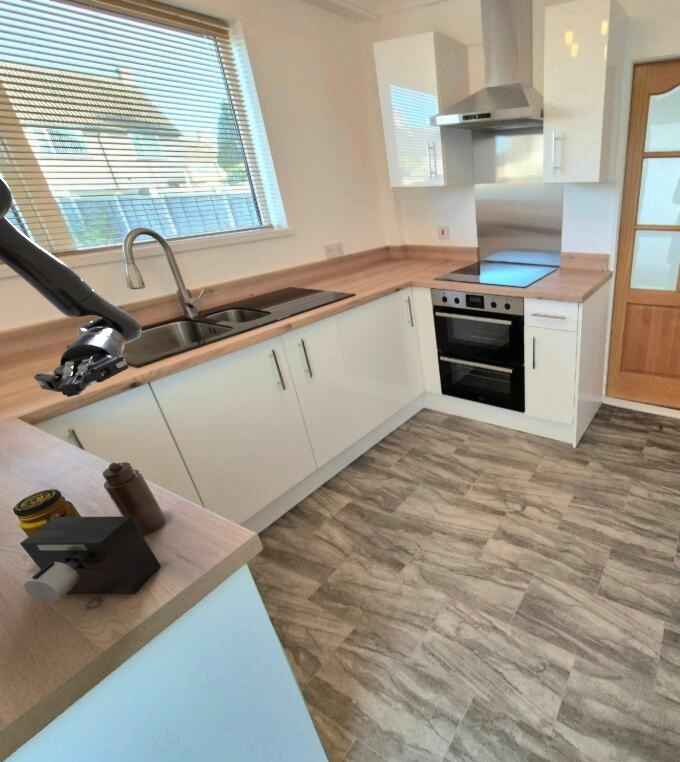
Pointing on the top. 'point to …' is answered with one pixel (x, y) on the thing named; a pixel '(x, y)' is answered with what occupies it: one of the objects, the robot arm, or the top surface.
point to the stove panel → (96, 552)
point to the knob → (53, 581)
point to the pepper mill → (133, 496)
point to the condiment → (42, 510)
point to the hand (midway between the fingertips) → (70, 390)
